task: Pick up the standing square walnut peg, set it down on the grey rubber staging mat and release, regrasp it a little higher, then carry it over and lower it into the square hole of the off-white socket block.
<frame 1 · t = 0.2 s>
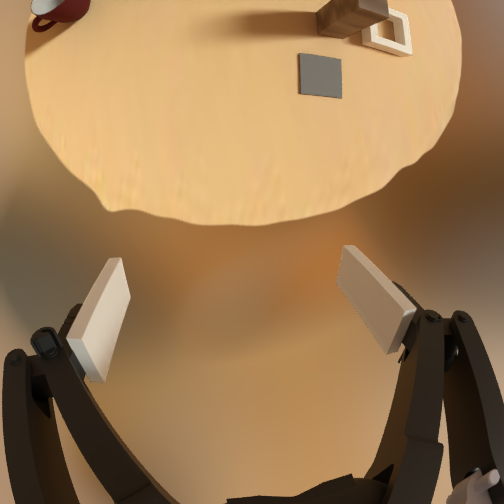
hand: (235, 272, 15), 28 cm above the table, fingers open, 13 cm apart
staging mat: (321, 75, 35), on the table
socket block: (381, 30, 31), on the table
mug: (73, 16, 22), on the table
peg: (329, 25, 30), on the table
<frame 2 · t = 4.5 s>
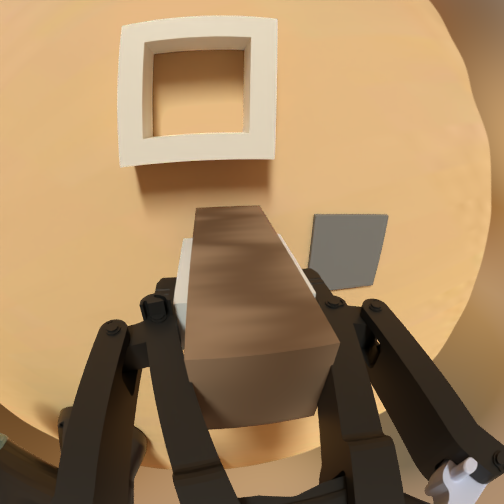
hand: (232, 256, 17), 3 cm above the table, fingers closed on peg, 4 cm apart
staging mat: (346, 253, 22), on the table
socket block: (197, 90, 15), on the table
peg: (228, 235, 20), on the table, touching gripper
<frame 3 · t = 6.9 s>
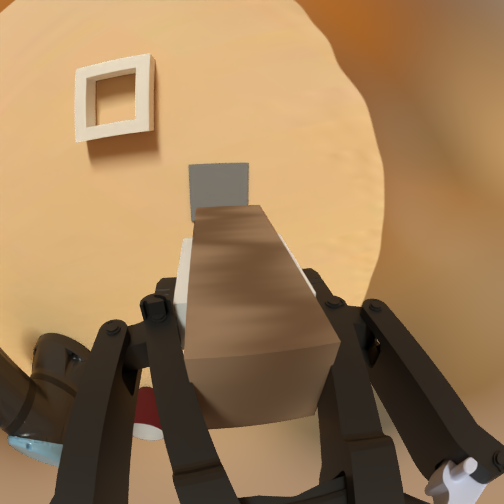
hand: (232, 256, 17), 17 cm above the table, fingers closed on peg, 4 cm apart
staging mat: (219, 191, 32), on the table
socket block: (117, 99, 25), on the table
mug: (152, 393, 48), on the table
peg: (228, 235, 20), point 14 cm above the table, touching gripper
when the fingers open (4 cm above the table, at t = 9.3 s): peg stays where it is, resting on staging mat.
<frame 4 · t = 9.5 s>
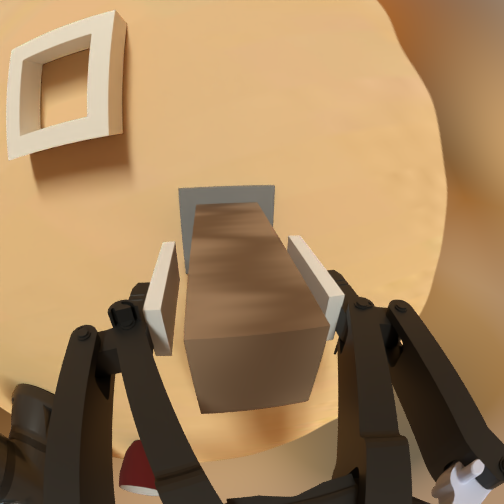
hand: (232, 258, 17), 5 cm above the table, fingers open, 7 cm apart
staging mat: (227, 230, 21), on the table
socket block: (69, 87, 14), on the table
mug: (149, 445, 37), on the table
peg: (227, 231, 21), resting on staging mat
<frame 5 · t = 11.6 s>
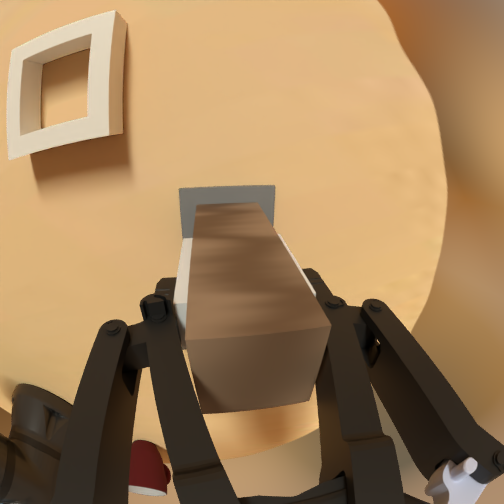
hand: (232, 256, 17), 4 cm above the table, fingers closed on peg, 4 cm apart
staging mat: (227, 230, 21), on the table
socket block: (70, 87, 14), on the table
mug: (149, 445, 37), on the table
peg: (227, 231, 21), resting on staging mat, touching gripper
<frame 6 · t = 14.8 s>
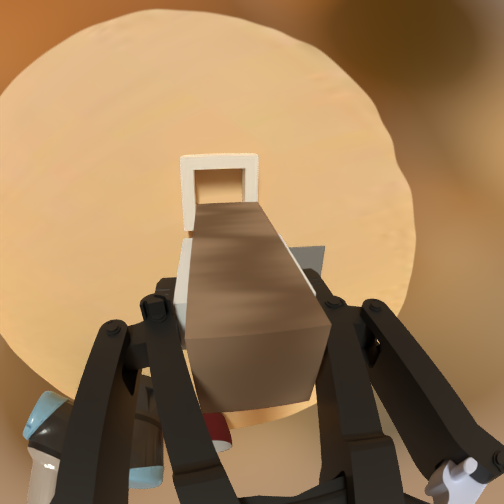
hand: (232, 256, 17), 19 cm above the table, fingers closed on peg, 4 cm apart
staging mat: (300, 267, 41), on the table
socket block: (218, 188, 34), on the table
mug: (214, 412, 57), on the table
peg: (227, 231, 21), point 15 cm above the table, touching gripper
when the fingers open (5 cm above the table, at t = 17.9 s): peg drops 1 cm, resting in socket block.
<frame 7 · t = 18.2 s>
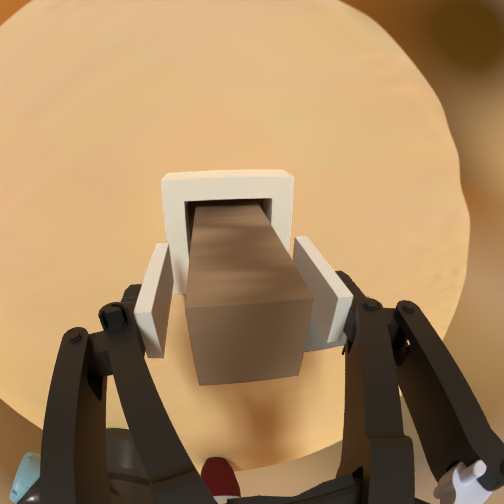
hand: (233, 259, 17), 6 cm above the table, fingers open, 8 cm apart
staging mat: (335, 325, 29), on the table
socket block: (226, 224, 22), on the table
mug: (219, 460, 45), on the table
peg: (226, 224, 22), resting in socket block
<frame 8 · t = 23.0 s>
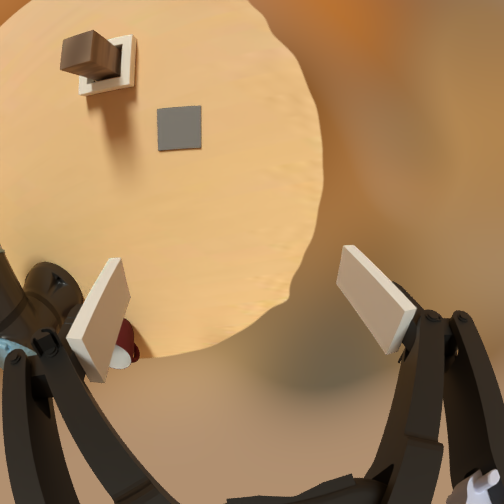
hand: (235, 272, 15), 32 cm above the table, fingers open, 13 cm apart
staging mat: (179, 127, 39), on the table
socket block: (110, 66, 32), on the table
mug: (126, 326, 55), on the table
peg: (110, 66, 32), resting in socket block
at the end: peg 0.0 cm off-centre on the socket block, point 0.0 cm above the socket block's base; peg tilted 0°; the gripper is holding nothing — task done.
